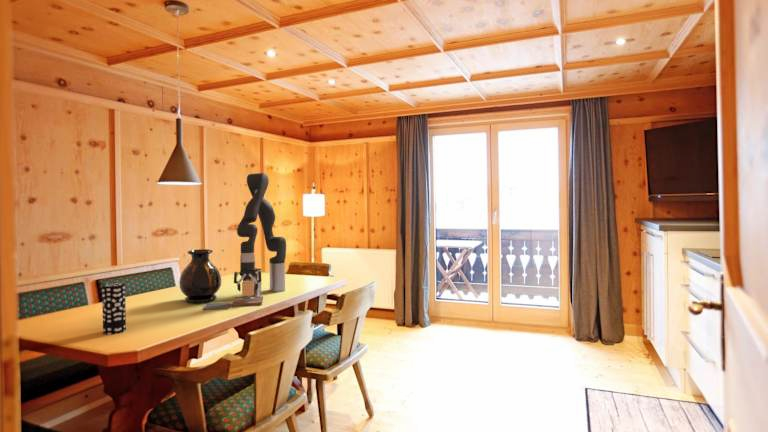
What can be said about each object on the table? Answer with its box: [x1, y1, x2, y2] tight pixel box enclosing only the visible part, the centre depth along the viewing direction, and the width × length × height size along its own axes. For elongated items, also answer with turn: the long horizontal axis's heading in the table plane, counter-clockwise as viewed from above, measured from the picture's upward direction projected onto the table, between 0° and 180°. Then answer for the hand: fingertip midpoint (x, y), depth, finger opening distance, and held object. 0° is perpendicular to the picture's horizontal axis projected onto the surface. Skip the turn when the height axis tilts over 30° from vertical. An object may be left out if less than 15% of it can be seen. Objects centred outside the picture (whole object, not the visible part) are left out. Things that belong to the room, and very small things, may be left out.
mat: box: [202, 302, 232, 311], centre depth 229 cm, size 12×12×1 cm
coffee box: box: [242, 267, 262, 297], centre depth 254 cm, size 9×6×16 cm
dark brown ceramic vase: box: [178, 248, 222, 304], centre depth 243 cm, size 22×22×28 cm
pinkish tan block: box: [241, 280, 254, 297], centre depth 238 cm, size 6×6×7 cm
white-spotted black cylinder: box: [101, 282, 127, 335], centre depth 186 cm, size 8×8×20 cm
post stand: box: [231, 295, 264, 308], centre depth 238 cm, size 15×15×10 cm
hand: (247, 290), depth 238 cm, fingers open, 8 cm apart
